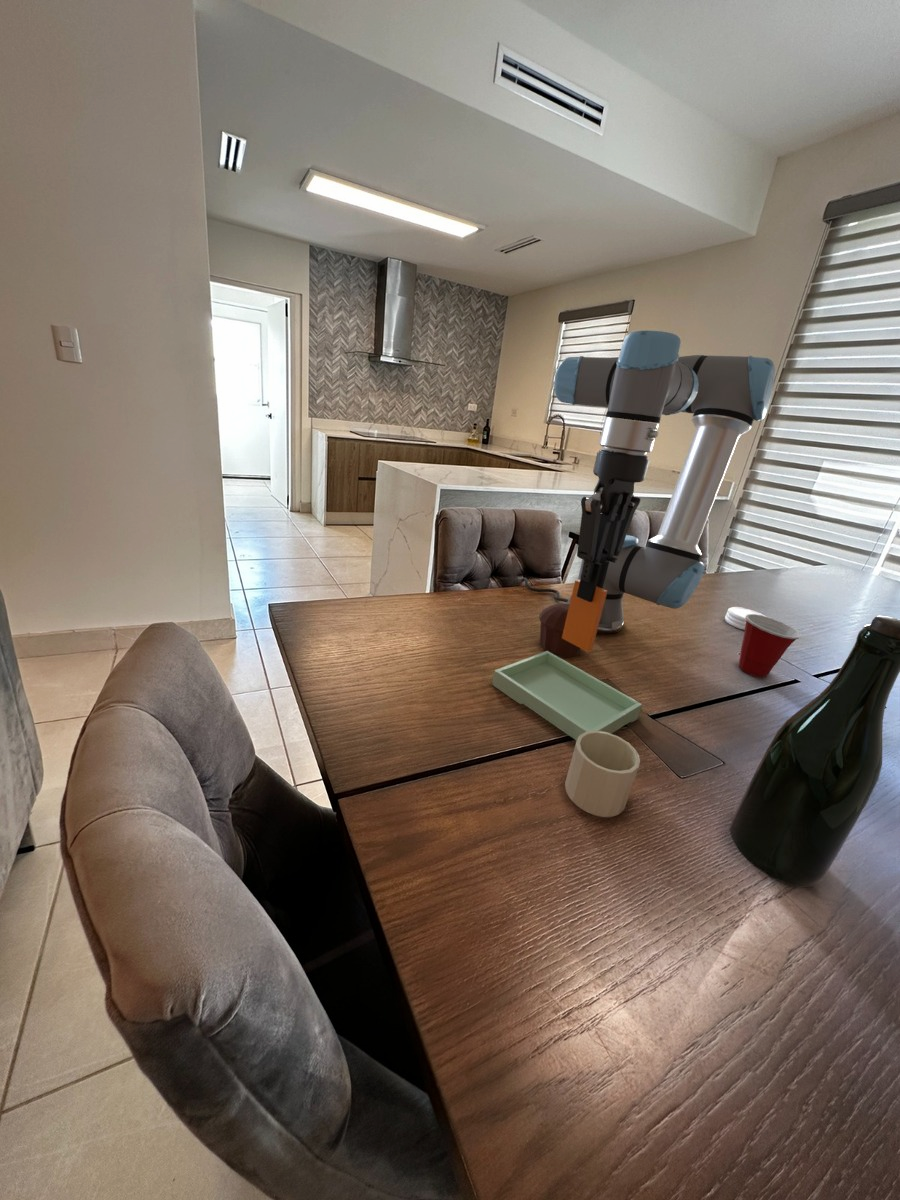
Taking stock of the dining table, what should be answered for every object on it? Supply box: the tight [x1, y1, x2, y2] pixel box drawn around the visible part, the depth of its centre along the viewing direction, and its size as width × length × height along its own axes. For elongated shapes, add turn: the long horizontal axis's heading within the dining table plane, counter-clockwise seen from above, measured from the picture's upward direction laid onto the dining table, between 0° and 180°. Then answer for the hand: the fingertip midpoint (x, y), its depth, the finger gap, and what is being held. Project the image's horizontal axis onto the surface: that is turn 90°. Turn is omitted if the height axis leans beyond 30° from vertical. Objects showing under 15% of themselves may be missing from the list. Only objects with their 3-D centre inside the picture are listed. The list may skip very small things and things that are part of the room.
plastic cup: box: [738, 614, 803, 678], centre depth 105 cm, size 11×11×12 cm
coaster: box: [724, 606, 765, 631], centre depth 132 cm, size 10×10×4 cm
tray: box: [491, 650, 643, 742], centre depth 86 cm, size 22×16×3 cm
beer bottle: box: [729, 615, 900, 888], centre depth 54 cm, size 10×10×33 cm
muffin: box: [538, 602, 581, 658], centre depth 105 cm, size 12×11×10 cm
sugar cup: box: [564, 731, 641, 818], centre depth 64 cm, size 8×8×8 cm
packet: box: [562, 579, 607, 653], centre depth 80 cm, size 6×1×11 cm, turn 40°
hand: (588, 597), depth 78 cm, fingers closed on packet
